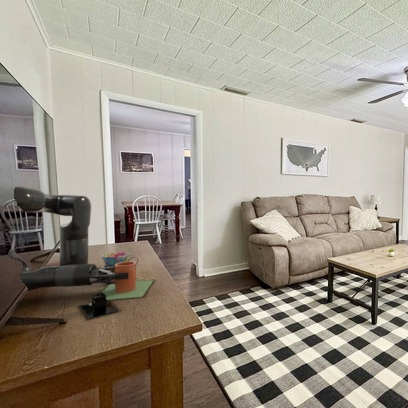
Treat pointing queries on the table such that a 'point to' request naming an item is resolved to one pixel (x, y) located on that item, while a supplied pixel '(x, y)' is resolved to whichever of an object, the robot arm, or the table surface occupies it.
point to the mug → (116, 259)
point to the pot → (125, 284)
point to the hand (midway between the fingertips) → (131, 272)
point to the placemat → (138, 292)
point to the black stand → (98, 306)
